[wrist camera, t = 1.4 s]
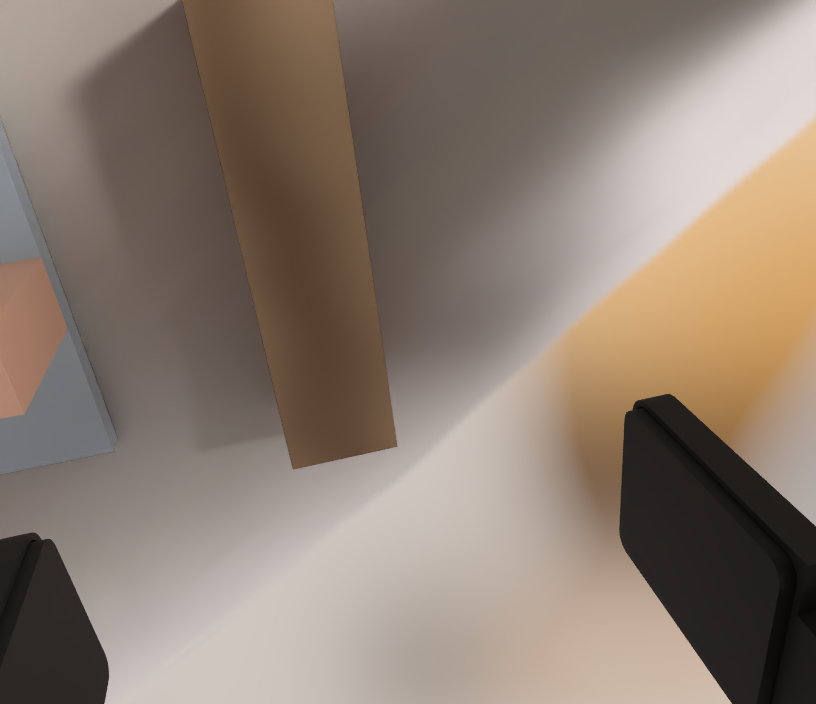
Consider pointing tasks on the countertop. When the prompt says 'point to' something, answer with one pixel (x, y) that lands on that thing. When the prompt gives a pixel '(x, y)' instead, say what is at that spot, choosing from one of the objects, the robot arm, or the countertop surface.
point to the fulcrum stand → (40, 347)
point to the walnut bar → (298, 216)
